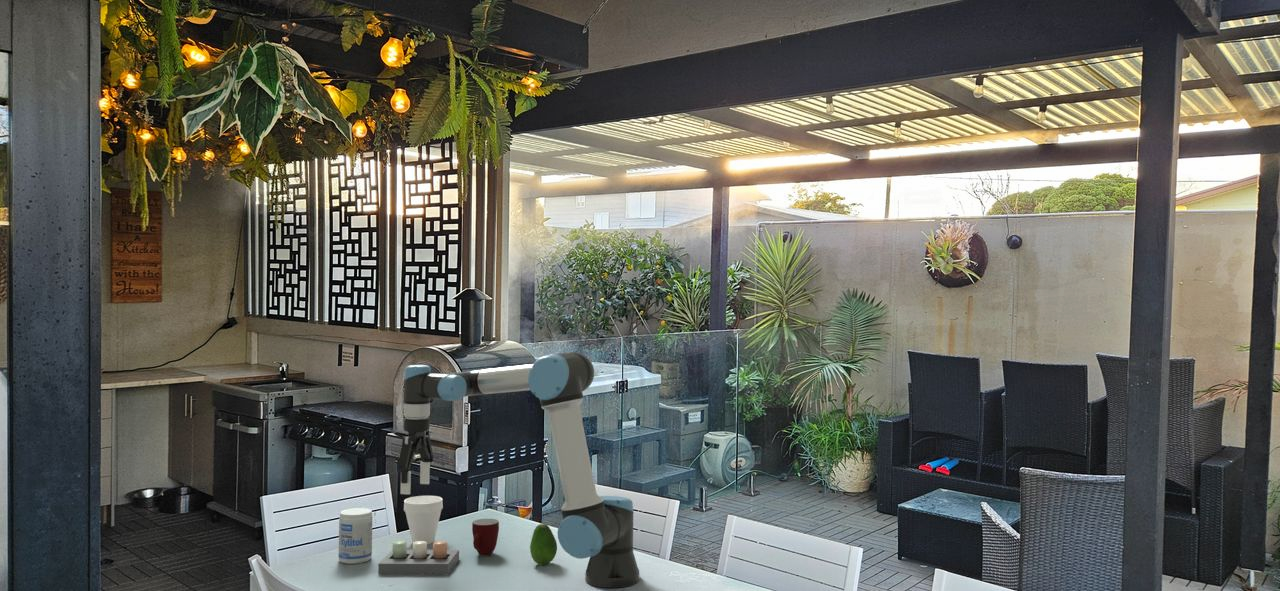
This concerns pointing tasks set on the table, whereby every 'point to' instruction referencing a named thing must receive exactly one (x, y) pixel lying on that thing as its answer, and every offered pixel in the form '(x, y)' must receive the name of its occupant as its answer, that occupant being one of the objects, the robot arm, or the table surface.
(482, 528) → the mug
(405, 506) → the cup
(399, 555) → the button sage
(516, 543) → the table surface
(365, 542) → the supplement tub
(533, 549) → the fruit
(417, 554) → the button cream
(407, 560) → the button panel
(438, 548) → the button terracotta
